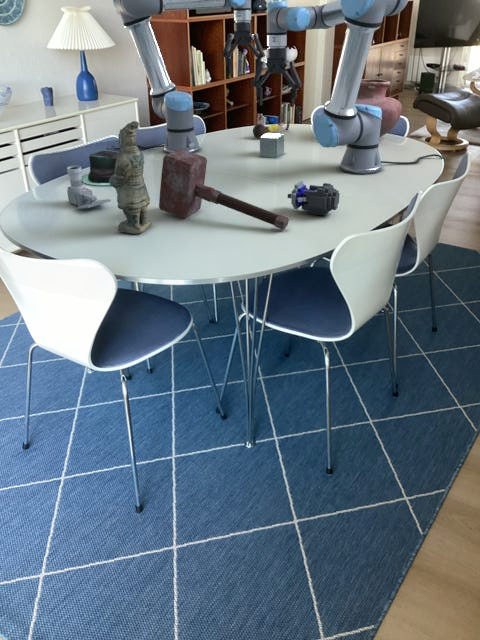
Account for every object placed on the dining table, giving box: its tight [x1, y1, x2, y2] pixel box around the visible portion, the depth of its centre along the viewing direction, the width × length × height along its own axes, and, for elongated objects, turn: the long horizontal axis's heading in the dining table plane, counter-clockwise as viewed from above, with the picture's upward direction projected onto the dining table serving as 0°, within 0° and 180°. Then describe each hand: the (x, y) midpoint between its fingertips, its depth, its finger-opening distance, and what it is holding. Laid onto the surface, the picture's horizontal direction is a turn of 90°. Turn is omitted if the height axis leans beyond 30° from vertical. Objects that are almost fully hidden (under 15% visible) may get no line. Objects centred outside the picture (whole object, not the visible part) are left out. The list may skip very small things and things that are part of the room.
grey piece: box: [66, 165, 112, 210], centre depth 178 cm, size 9×12×15 cm
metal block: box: [259, 132, 285, 159], centre depth 231 cm, size 8×8×8 cm
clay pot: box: [355, 78, 403, 138], centre depth 248 cm, size 30×30×25 cm
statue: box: [109, 120, 153, 235], centre depth 154 cm, size 11×9×30 cm
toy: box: [287, 180, 341, 216], centre depth 168 cm, size 9×9×15 cm
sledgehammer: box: [158, 149, 290, 231], centre depth 163 cm, size 17×10×40 cm
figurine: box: [252, 119, 290, 139], centre depth 265 cm, size 13×8×25 cm
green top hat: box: [82, 150, 119, 186], centre depth 207 cm, size 15×19×20 cm
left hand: (243, 74), depth 253 cm, fingers open, 13 cm apart
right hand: (276, 105), depth 223 cm, fingers open, 13 cm apart
